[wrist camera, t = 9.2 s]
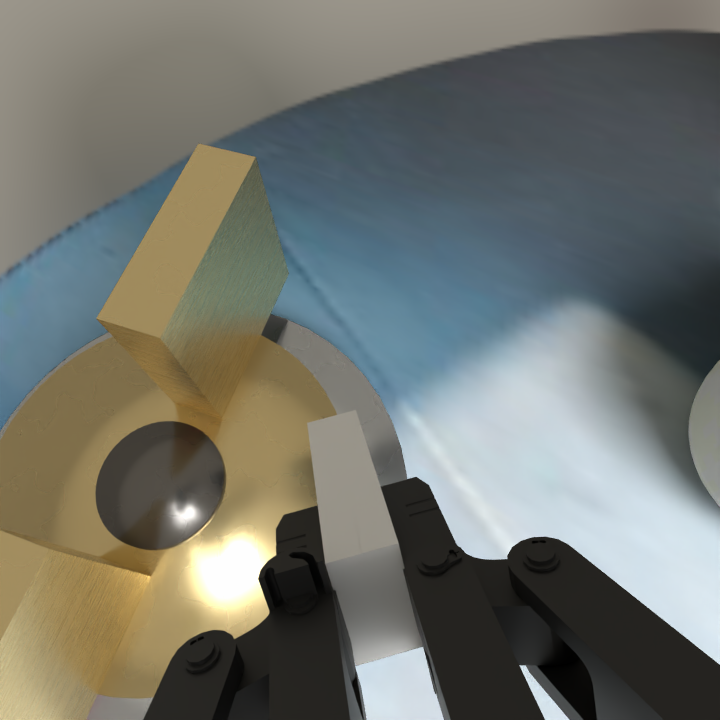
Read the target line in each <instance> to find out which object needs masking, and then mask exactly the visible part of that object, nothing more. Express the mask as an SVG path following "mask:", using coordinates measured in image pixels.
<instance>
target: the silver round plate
mask: <svg viewBox="0 0 720 720" xmlns="http://www.w3.org/2000/svg"><path fill="white" fill-rule="evenodd" d="M261 335H262V336H264V337H266V338H267V339H269V340H271V341H273V342H274V343H276V344H278V345H280V346H281V347H283V348H284V349H285V350H287V351H288V352H289V353H290V354H292V355H293V356H294V357H296V358H297V359H298V360H299V361H300V362H301V363H302V364H303V365H304V366H305V367H306V368H307V369H308V370H309V371H310V372H311V373H312V374H313V375H314V377H315V378H316V380H317V381H318V382H319V384H320V385H321V386H322V388H323V389H324V390H325V392H326V394H327V396H328V397H329V399H330V401H331V403H332V405H333V407H334V408H335V410H336V413H337V415H339V414H342V413H346V412H350V411H354V410H356V412H357V415H358V418H359V421H360V425H361V428H362V431H363V434H364V437H365V440H366V443H367V446H368V449H369V453H370V456H371V459H372V462H373V465H374V468H375V471H376V474H377V478H378V481H379V484H380V487H381V486H385V485H388V484H392V483H396V482H399V481H403V480H407V474H406V469H405V465H404V460H403V455H402V450H401V446H400V443H399V440H398V437H397V434H396V432H395V429H394V426H393V423H392V420H391V418H390V416H389V415H388V413H387V411H386V409H385V407H384V405H383V403H382V401H381V399H380V397H379V396H378V394H377V393H376V391H375V390H374V388H373V387H372V386H371V384H370V383H369V381H368V380H367V378H366V377H365V376H364V375H363V374H362V372H361V371H360V370H359V369H358V368H357V367H356V366H355V365H354V364H353V363H352V362H351V360H350V359H349V358H348V357H346V356H345V355H344V354H343V353H342V352H340V351H339V350H338V349H337V348H336V347H334V346H333V345H332V344H331V343H330V342H328V341H327V340H325V339H323V338H322V337H320V336H319V335H317V334H315V333H314V332H312V331H311V330H309V329H307V328H305V327H303V326H300V325H298V324H296V323H294V322H292V321H289V320H287V319H285V318H281V317H278V316H275V315H272V314H270V316H269V318H268V320H267V323H266V325H265V327H264V329H263V331H262V334H261ZM111 337H113V336H112V335H111V334H110V333H109V332H108V333H106V334H104V335H102V336H100V337H98V338H96V339H94V340H93V341H91V342H89V343H88V344H86V345H85V346H83V347H82V348H80V349H79V350H77V351H76V352H74V353H73V354H71V355H70V356H68V357H67V358H66V359H65V360H64V361H62V362H61V363H60V364H59V365H58V366H56V367H55V368H54V369H53V370H52V371H50V372H49V373H48V374H47V375H46V376H45V377H44V378H43V379H42V380H41V381H40V382H39V383H38V384H37V385H36V386H35V387H34V388H33V389H32V390H31V391H30V392H29V393H28V394H27V396H26V397H25V398H24V399H23V401H22V402H21V403H20V405H19V406H18V407H17V408H16V410H15V411H14V412H13V413H12V415H11V416H10V417H9V419H8V420H7V422H6V424H5V425H4V427H3V428H2V430H1V431H0V440H1V438H2V436H3V435H4V433H5V431H6V429H7V428H8V426H9V424H10V423H11V421H12V420H13V418H14V417H15V416H16V414H17V413H18V411H19V410H20V409H21V407H22V406H23V405H24V403H25V402H26V401H27V400H28V399H29V398H30V397H31V395H32V394H33V393H34V392H35V391H36V390H37V389H38V388H39V386H40V385H42V384H43V383H44V382H45V381H46V380H47V379H48V378H49V377H50V376H51V375H53V374H54V373H55V372H56V371H57V370H58V369H59V368H61V367H62V366H63V365H65V364H66V363H68V362H69V361H70V360H72V359H73V358H74V357H76V356H77V355H79V354H80V353H82V352H84V351H85V350H87V349H89V348H91V347H92V346H94V345H96V344H98V343H100V342H102V341H104V340H106V339H108V338H111ZM354 661H355V660H354ZM152 699H153V697H152V698H142V699H135V698H115V697H108V696H104V695H99V694H97V697H96V699H95V701H94V703H93V705H92V708H91V710H90V712H89V714H88V716H87V719H86V720H143V719H144V717H145V715H146V712H147V710H148V708H149V706H150V704H151V702H152Z"/></svg>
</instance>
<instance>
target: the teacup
mask: <svg viewBox="0 0 720 720" xmlns="http://www.w3.org/2000/svg"><path fill="white" fill-rule="evenodd" d="M689 443H690V450H691V454H692V458H693V461H694V465H695V467H696V469H697V472H698V474H699V476H700V479H701V481H702V482H703V484H704V486H705V487H706V489H707V490H708V492H709V494H710V495H711V497H712V498H713V499H714V500H715V502H716V503H717V504H718V506H719V507H720V360H719V361H718V362H717V364H716V365H715V366H714V367H713V369H712V370H711V371H710V372H709V374H708V375H707V376H706V378H705V379H704V381H703V383H702V384H701V386H700V388H699V390H698V392H697V394H696V396H695V398H694V401H693V405H692V408H691V413H690V418H689Z"/></svg>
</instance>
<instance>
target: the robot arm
mask: <svg viewBox="0 0 720 720" xmlns="http://www.w3.org/2000/svg"><path fill="white" fill-rule="evenodd" d="M307 425H308V433H309V441H310V449H311V457H312V465H313V472H314V480H315V488H316V496H317V504H318V505H317V506H314V507H310V508H306V509H303V510H299V511H295V512H292V513H288V514H284V515H283V517H282V519H281V520H280V522H279V524H278V526H277V528H276V555H275V556H274V557H273V558H271V559H270V560H268V561H267V562H266V564H265V565H264V566H263V567H262V569H261V570H260V573H259V577H258V580H259V583H260V586H261V589H262V592H263V594H264V597H265V600H266V603H267V606H268V608H269V615H268V616H267V617H266V618H265V619H264V620H263V621H262V622H261V623H260V624H259V625H257V626H256V627H254V628H253V629H251V630H250V631H248V632H246V633H245V634H243V635H241V636H239V637H237V638H235V639H234V638H233V635H231V634H229V633H228V632H226V631H223V630H211V631H207V632H203V633H200V634H198V635H196V636H194V637H193V638H191V639H189V640H188V641H187V642H185V643H184V644H183V645H182V646H181V647H180V648H179V649H178V650H177V651H176V653H175V654H174V656H173V657H172V659H171V660H170V663H169V665H168V667H167V669H166V671H165V673H164V676H163V678H162V680H161V682H160V684H159V686H158V689H157V691H156V693H155V695H154V697H153V699H152V702H151V704H150V706H149V708H148V710H147V712H146V715H145V717H144V719H143V720H366V714H365V708H364V702H363V696H362V690H361V685H360V682H359V679H358V675H357V672H356V669H355V664H356V666H357V665H361V664H364V663H368V662H371V661H375V660H378V659H381V658H385V657H388V656H392V655H395V654H399V653H402V652H406V651H409V650H413V649H416V648H419V647H424V651H425V655H426V659H427V664H428V668H429V672H430V676H431V680H432V684H433V688H434V692H435V694H437V698H438V701H439V704H440V708H441V711H442V714H443V718H444V720H545V719H544V717H543V715H542V713H541V710H540V708H539V706H538V704H537V702H536V700H535V698H534V696H533V694H532V692H531V689H530V687H529V685H528V683H527V681H526V679H525V677H524V675H523V673H522V670H521V668H520V666H519V665H526V667H527V668H528V670H529V672H530V674H531V675H532V676H533V677H534V678H535V679H536V681H537V682H538V683H539V684H540V685H541V686H542V688H543V689H544V690H545V691H546V692H547V694H548V695H549V696H550V697H551V698H552V699H553V701H554V702H555V703H556V704H557V705H558V707H559V708H560V709H561V710H562V711H563V712H564V714H565V715H566V716H567V717H568V718H569V719H570V720H720V665H719V664H718V663H717V662H715V661H714V660H713V659H712V658H710V657H709V656H708V655H707V654H705V653H704V652H703V651H702V650H700V649H699V648H698V647H697V646H695V645H694V644H693V643H692V642H690V641H689V640H688V639H686V638H685V637H684V636H683V635H681V634H680V633H679V632H678V631H676V630H675V629H674V628H673V627H671V626H670V625H669V624H668V623H666V622H665V621H664V620H663V619H661V618H660V617H659V616H658V615H656V614H655V613H654V612H652V611H651V610H650V609H649V608H647V607H646V606H645V605H644V604H642V603H641V602H640V601H639V600H637V599H636V598H635V597H634V596H632V595H631V594H630V593H629V592H627V591H626V590H625V589H623V588H622V587H621V586H620V585H618V584H617V583H616V582H615V581H613V580H612V579H611V578H610V577H608V576H607V575H606V574H605V573H603V572H602V571H601V570H600V569H598V568H597V567H596V566H595V565H593V564H592V563H591V562H589V561H588V560H587V559H586V558H584V557H583V556H582V555H581V554H579V553H578V552H577V551H576V550H574V549H573V548H572V547H571V546H569V545H568V544H566V543H564V542H562V541H560V540H559V539H554V538H549V537H532V538H529V539H526V540H523V541H520V542H519V543H518V544H516V545H515V546H513V547H512V549H511V550H510V552H509V554H508V555H507V557H508V559H502V560H485V559H479V558H474V557H472V556H470V555H467V554H466V553H465V552H464V551H463V550H462V549H461V548H460V547H458V546H457V544H456V543H455V540H454V538H453V536H452V534H451V532H450V530H449V528H448V525H447V523H446V521H445V519H444V517H443V515H442V512H441V510H440V509H439V506H438V504H437V502H436V500H435V498H434V495H433V493H432V491H431V489H430V487H429V485H428V484H426V483H425V482H423V481H422V480H420V479H419V478H417V477H414V478H410V479H407V480H403V481H399V482H396V483H392V484H388V485H385V486H381V487H380V484H379V481H378V478H377V474H376V471H375V468H374V465H373V462H372V459H371V456H370V453H369V449H368V446H367V443H366V440H365V437H364V434H363V431H362V428H361V425H360V421H359V418H358V415H357V412H356V410H354V411H350V412H346V413H342V414H339V415H335V416H331V417H327V418H324V419H320V420H316V421H312V422H309V423H307ZM354 660H355V662H354Z"/></svg>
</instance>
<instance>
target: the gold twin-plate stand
mask: <svg viewBox="0 0 720 720" xmlns="http://www.w3.org/2000/svg"><path fill="white" fill-rule="evenodd" d="M288 274H289V272H288V269H287V265H286V262H285V258H284V255H283V251H282V248H281V244H280V241H279V237H278V234H277V230H276V227H275V223H274V220H273V216H272V213H271V209H270V205H269V202H268V198H267V195H266V191H265V188H264V184H263V181H262V177H261V174H260V170H259V167H258V163H257V160H256V157H253V156H249V155H245V154H241V153H236V152H232V151H228V150H224V149H219V148H215V147H211V146H207V145H202V144H198V145H197V147H196V149H195V151H194V152H193V154H192V156H191V157H190V159H189V161H188V163H187V164H186V166H185V168H184V169H183V171H182V173H181V175H180V176H179V178H178V180H177V181H176V183H175V185H174V187H173V188H172V190H171V192H170V193H169V195H168V197H167V198H166V200H165V202H164V204H163V205H162V207H161V209H160V210H159V212H158V214H157V216H156V217H155V219H154V221H153V222H152V224H151V226H150V228H149V229H148V231H147V233H146V234H145V236H144V238H143V240H142V241H141V243H140V245H139V246H138V248H137V250H136V252H135V253H134V255H133V257H132V258H131V260H130V262H129V264H128V265H127V267H126V269H125V270H124V272H123V274H122V276H121V277H120V279H119V281H118V282H117V284H116V286H115V287H114V289H113V291H112V293H111V294H110V296H109V298H108V299H107V301H106V303H105V305H104V306H103V308H102V310H101V311H100V313H99V315H98V317H97V318H96V319H97V320H98V321H99V322H100V323H101V324H102V325H103V326H104V327H105V329H106V330H107V331H108V332H109V333H110V334H111V335H112V336H113V337H111V338H108V339H106V340H104V341H102V342H100V343H98V344H96V345H94V346H92V347H91V348H89V349H87V350H85V351H84V352H82V353H80V354H79V355H77V356H76V357H74V358H73V359H72V360H70V361H69V362H68V363H66V364H65V365H63V366H62V367H61V368H59V369H58V370H57V371H56V372H55V373H54V374H53V375H51V376H50V377H49V378H48V379H47V380H46V381H45V382H44V383H43V384H42V385H40V386H39V388H38V389H37V390H36V391H35V392H34V393H33V394H32V395H31V397H30V398H29V399H28V400H27V401H26V402H25V403H24V405H23V406H22V407H21V409H20V410H19V411H18V413H17V414H16V416H15V417H14V418H13V420H12V421H11V423H10V424H9V426H8V428H7V429H6V431H5V433H4V435H3V436H2V438H1V440H0V720H86V719H87V716H88V714H89V712H90V710H91V708H92V705H93V703H94V701H95V699H96V697H97V694H99V695H104V696H108V697H115V698H135V699H142V698H152V697H154V695H155V693H156V691H157V689H158V686H159V684H160V682H161V680H162V678H163V676H164V673H165V671H166V669H167V667H168V665H169V663H170V660H171V659H172V657H173V656H174V654H175V653H176V651H177V650H178V649H179V648H180V647H181V646H182V645H183V644H184V643H185V642H187V641H188V640H189V639H191V638H193V637H194V636H196V635H198V634H200V633H203V632H207V631H211V630H223V631H226V632H228V633H229V634H231V635H233V638H234V639H235V638H237V637H239V636H241V635H243V634H245V633H246V632H248V631H250V630H251V629H253V628H254V627H256V626H257V625H259V624H260V623H261V622H262V621H263V620H264V619H265V618H266V617H267V616H268V615H269V608H268V606H267V603H266V600H265V597H264V594H263V592H262V589H261V586H260V583H259V580H258V577H259V573H260V570H261V569H262V567H263V566H264V565H265V564H266V562H267V561H268V560H270V559H271V558H273V557H274V556H275V555H276V528H277V526H278V524H279V522H280V520H281V519H282V517H283V515H284V514H288V513H292V512H295V511H299V510H303V509H306V508H310V507H314V506H317V505H318V504H317V496H316V488H315V480H314V472H313V465H312V457H311V449H310V441H309V433H308V425H307V423H309V422H312V421H316V420H320V419H324V418H327V417H331V416H335V415H337V413H336V410H335V408H334V407H333V405H332V403H331V401H330V399H329V397H328V396H327V394H326V392H325V390H324V389H323V388H322V386H321V385H320V384H319V382H318V381H317V380H316V378H315V377H314V375H313V374H312V373H311V372H310V371H309V370H308V369H307V368H306V367H305V366H304V365H303V364H302V363H301V362H300V361H299V360H298V359H297V358H296V357H294V356H293V355H292V354H290V353H289V352H288V351H287V350H285V349H284V348H283V347H281V346H280V345H278V344H276V343H274V342H273V341H271V340H269V339H267V338H266V337H264V336H262V335H261V334H262V331H263V329H264V327H265V325H266V323H267V320H268V318H269V316H270V314H271V312H272V309H273V307H274V305H275V303H276V301H277V298H278V296H279V294H280V292H281V290H282V287H283V285H284V283H285V281H286V279H287V276H288Z"/></svg>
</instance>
